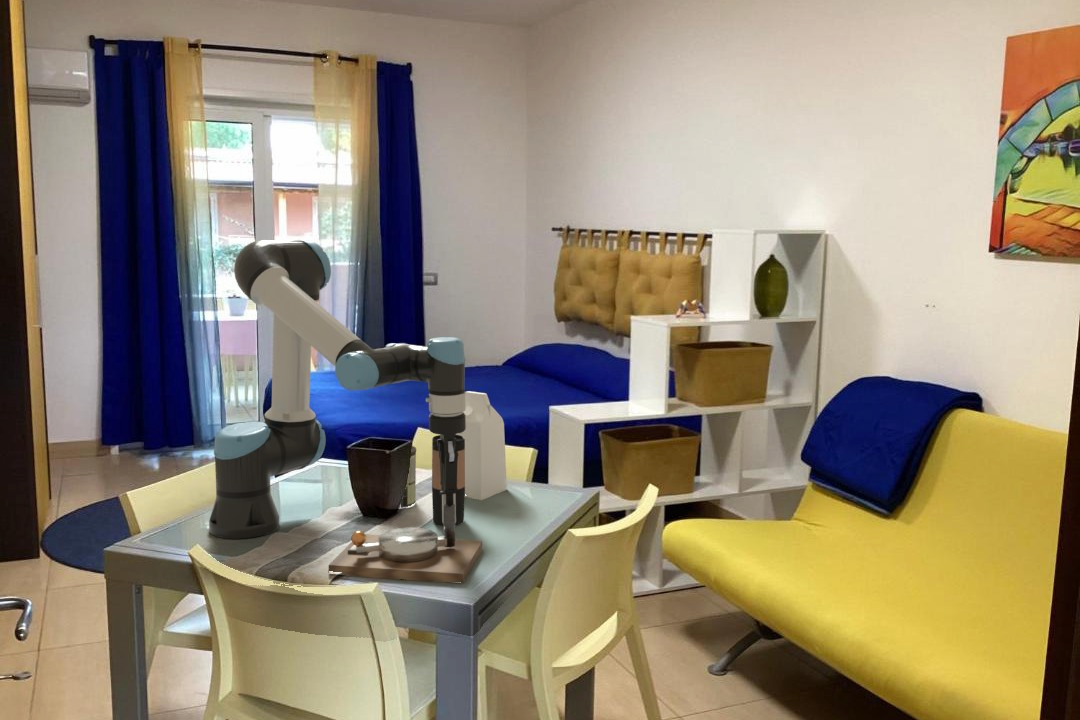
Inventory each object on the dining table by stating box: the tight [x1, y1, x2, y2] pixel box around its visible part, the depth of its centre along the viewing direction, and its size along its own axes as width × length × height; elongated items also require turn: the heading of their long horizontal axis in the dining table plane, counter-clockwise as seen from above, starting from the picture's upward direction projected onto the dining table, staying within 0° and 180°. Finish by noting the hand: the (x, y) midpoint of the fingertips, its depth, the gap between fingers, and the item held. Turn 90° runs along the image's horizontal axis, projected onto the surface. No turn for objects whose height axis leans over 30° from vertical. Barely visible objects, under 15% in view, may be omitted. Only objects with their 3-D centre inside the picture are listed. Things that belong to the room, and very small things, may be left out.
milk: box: [456, 390, 508, 501], centre depth 241 cm, size 12×12×26 cm
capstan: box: [350, 504, 456, 562], centre depth 190 cm, size 21×12×9 cm, turn 107°
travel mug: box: [431, 434, 466, 527], centre depth 216 cm, size 8×8×20 cm
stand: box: [327, 533, 483, 584], centre depth 191 cm, size 27×19×3 cm
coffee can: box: [401, 445, 417, 508], centre depth 229 cm, size 10×10×14 cm
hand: (449, 522), depth 196 cm, fingers closed
